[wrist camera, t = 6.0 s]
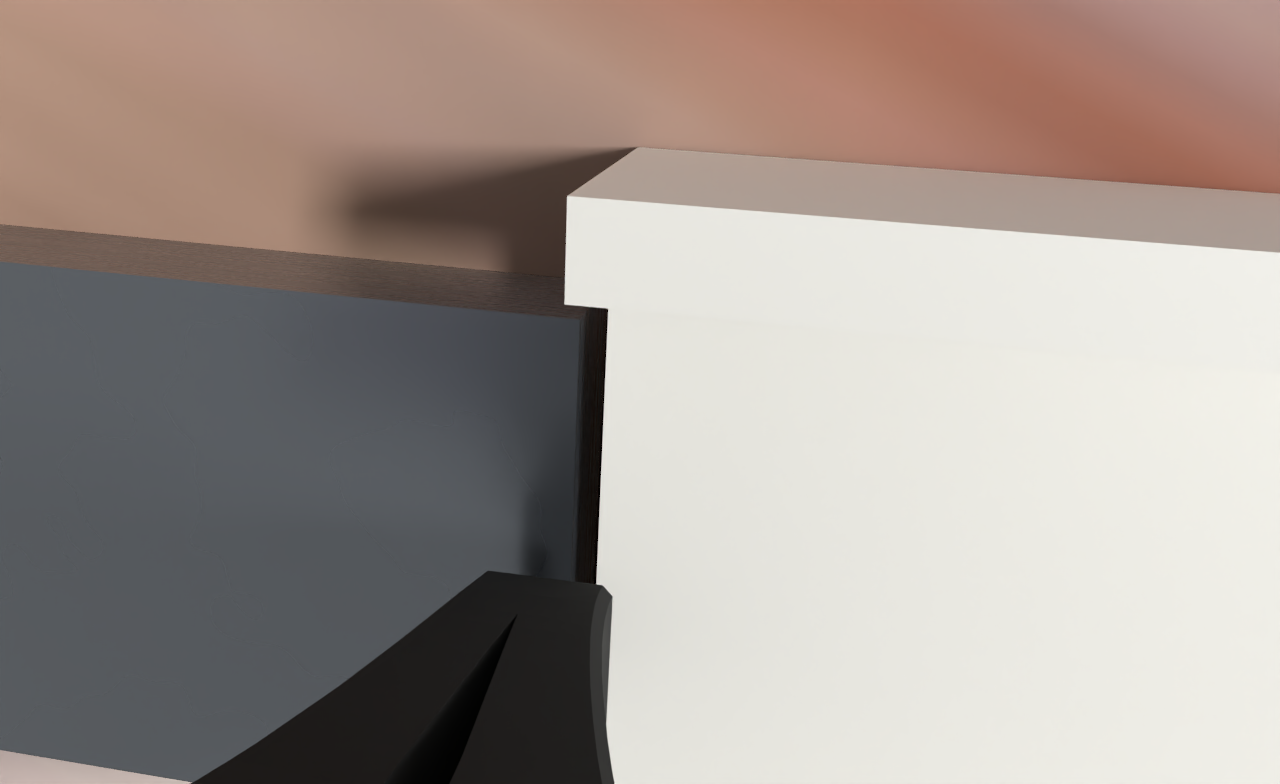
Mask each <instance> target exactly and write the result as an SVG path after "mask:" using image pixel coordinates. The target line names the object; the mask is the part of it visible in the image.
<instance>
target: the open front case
mask: <svg viewBox="0 0 1280 784" xmlns="http://www.w3.org/2000/svg"><path fill="white" fill-rule="evenodd" d="M564 304H565V305H575V306H586V307H597V308H607V309H608V326H607V349H606V372H605V395H604V418H603V441H602V464H601V487H600V510H599V533H598V556H597V578H596V584H597V585H603V586H604V587H605V588H606V590H607V591H608V592H609V593H610V594H611V595H612V596H613V600H612V620H611V639H610V659H609V679H608V699H607V719H606V728H607V738H608V746H609V753H610V759H611V766H612V772H613V778H614V784H1280V194H1276V193H1262V192H1248V191H1234V190H1221V189H1207V188H1193V187H1179V186H1166V185H1152V184H1138V183H1124V182H1110V181H1097V180H1083V179H1069V178H1055V177H1042V176H1028V175H1014V174H1000V173H987V172H973V171H959V170H945V169H932V168H918V167H904V166H890V165H876V164H863V163H849V162H835V161H821V160H808V159H794V158H780V157H766V156H753V155H739V154H725V153H711V152H698V151H684V150H670V149H656V148H643V147H638V148H636V149H635V150H633V151H632V152H630V153H629V154H627V155H626V156H625V157H623V158H622V159H620V160H619V161H617V162H616V163H614V164H613V165H611V166H610V167H609V168H607V169H606V170H604V171H603V172H601V173H600V174H598V175H597V176H595V177H594V178H593V179H591V180H590V181H588V182H587V183H585V184H584V185H582V186H581V187H579V188H578V189H577V190H575V191H574V192H572V193H571V194H569V195H568V196H567V220H566V260H565V301H564Z"/></svg>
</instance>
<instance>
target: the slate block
mask: <svg viewBox="0 0 1280 784" xmlns="http://www.w3.org/2000/svg"><path fill="white" fill-rule="evenodd" d="M564 301H565V278H560V277H549V276H539V275H528V274H518V273H507V272H497V271H486V270H475V269H465V268H454V267H444V266H433V265H423V264H412V263H402V262H391V261H381V260H370V259H360V258H349V257H338V256H328V255H317V254H307V253H296V252H286V251H275V250H265V249H254V248H244V247H233V246H222V245H212V244H201V243H191V242H180V241H170V240H159V239H149V238H138V237H128V236H117V235H107V234H96V233H85V232H75V231H64V230H54V229H43V228H33V227H22V226H12V225H1V224H0V750H4V751H10V752H16V753H22V754H28V755H34V756H40V757H46V758H51V759H57V760H63V761H69V762H75V763H81V764H87V765H93V766H99V767H105V768H111V769H117V770H123V771H128V772H134V773H140V774H146V775H152V776H158V777H164V778H170V779H176V780H182V781H188V782H194V781H196V780H198V779H199V778H201V777H203V776H204V775H206V774H208V773H209V772H211V771H213V770H214V769H216V768H217V767H219V766H221V765H222V764H224V763H226V762H227V761H229V760H230V759H232V758H234V757H235V756H237V755H238V754H240V753H241V752H243V751H245V750H246V749H248V748H249V747H251V746H252V745H254V744H256V743H257V742H259V741H260V740H261V739H263V738H264V737H266V736H267V735H269V734H270V733H272V732H273V731H275V730H276V729H277V728H279V727H280V726H282V725H283V724H285V723H286V722H288V721H289V720H290V719H292V718H293V717H295V716H296V715H298V714H299V713H301V712H302V711H304V710H305V709H306V708H308V707H309V706H311V705H312V704H314V703H315V702H317V701H318V700H320V699H321V698H322V697H324V696H325V695H327V694H328V693H330V692H331V691H333V690H334V689H335V688H337V687H338V686H339V685H341V684H342V683H343V682H345V681H346V680H347V679H349V678H350V677H351V676H353V675H354V674H355V673H357V672H358V671H359V670H361V669H362V668H363V667H365V666H366V665H367V664H369V663H370V662H371V661H373V660H374V659H375V658H376V657H378V656H379V655H380V654H382V653H383V652H384V651H386V650H387V649H388V648H390V647H391V646H392V645H394V644H395V643H396V642H398V641H399V640H400V639H401V638H403V637H404V636H405V635H406V634H408V633H409V632H410V631H411V630H413V629H414V628H415V627H416V626H418V625H419V624H420V623H422V622H423V621H424V620H425V619H427V618H428V617H429V616H430V615H432V614H433V613H434V612H435V611H437V610H438V609H439V608H440V607H442V606H443V605H444V604H445V603H447V602H448V601H449V600H450V599H452V598H453V597H454V596H455V595H457V594H458V593H459V592H460V591H462V590H463V589H464V588H466V587H467V586H468V585H470V584H471V583H472V582H474V581H475V580H476V579H478V578H479V577H480V576H481V575H483V574H484V573H485V572H487V571H496V572H504V573H512V574H519V575H527V576H535V577H543V578H550V579H558V580H566V581H574V582H581V583H589V584H593V578H594V557H595V536H596V515H597V494H598V472H599V451H600V430H601V409H602V388H603V367H604V346H605V324H606V308H597V307H586V306H575V305H565V304H564Z"/></svg>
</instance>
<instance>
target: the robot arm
mask: <svg viewBox="0 0 1280 784" xmlns="http://www.w3.org/2000/svg"><path fill="white" fill-rule="evenodd" d="M612 600H613V596H612V595H611V594H610V593H609V592H608V591H607V590H606V588H605V587H604V586H603V585H597V584H589V583H581V582H574V581H566V580H558V579H550V578H543V577H535V576H527V575H519V574H512V573H504V572H496V571H487V572H485V573H484V574H483V575H481V576H480V577H479V578H478V579H476V580H475V581H474V582H472V583H471V584H470V585H468V586H467V587H466V588H464V589H463V590H462V591H460V592H459V593H458V594H457V595H455V596H454V597H453V598H452V599H450V600H449V601H448V602H447V603H445V604H444V605H443V606H442V607H440V608H439V609H438V610H437V611H435V612H434V613H433V614H432V615H430V616H429V617H428V618H427V619H425V620H424V621H423V622H422V623H420V624H419V625H418V626H416V627H415V628H414V629H413V630H411V631H410V632H409V633H408V634H406V635H405V636H404V637H403V638H401V639H400V640H399V641H398V642H396V643H395V644H394V645H392V646H391V647H390V648H388V649H387V650H386V651H384V652H383V653H382V654H380V655H379V656H378V657H376V658H375V659H374V660H373V661H371V662H370V663H369V664H367V665H366V666H365V667H363V668H362V669H361V670H359V671H358V672H357V673H355V674H354V675H353V676H351V677H350V678H349V679H347V680H346V681H345V682H343V683H342V684H341V685H339V686H338V687H337V688H335V689H334V690H333V691H331V692H330V693H328V694H327V695H325V696H324V697H322V698H321V699H320V700H318V701H317V702H315V703H314V704H312V705H311V706H309V707H308V708H306V709H305V710H304V711H302V712H301V713H299V714H298V715H296V716H295V717H293V718H292V719H290V720H289V721H288V722H286V723H285V724H283V725H282V726H280V727H279V728H277V729H276V730H275V731H273V732H272V733H270V734H269V735H267V736H266V737H264V738H263V739H261V740H260V741H259V742H257V743H256V744H254V745H252V746H251V747H249V748H248V749H246V750H245V751H243V752H241V753H240V754H238V755H237V756H235V757H234V758H232V759H230V760H229V761H227V762H226V763H224V764H222V765H221V766H219V767H217V768H216V769H214V770H213V771H211V772H209V773H208V774H206V775H204V776H203V777H201V778H199V779H198V780H196V781H194V782H193V783H191V784H614V778H613V772H612V766H611V759H610V753H609V746H608V738H607V728H606V719H607V699H608V679H609V659H610V639H611V620H612Z"/></svg>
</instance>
